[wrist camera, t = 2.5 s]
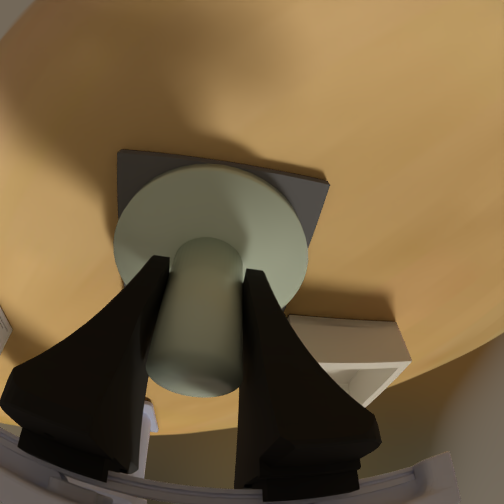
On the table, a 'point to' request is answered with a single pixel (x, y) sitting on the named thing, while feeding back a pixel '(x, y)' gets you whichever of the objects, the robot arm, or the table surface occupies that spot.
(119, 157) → the mat
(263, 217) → the lid
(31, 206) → the table surface
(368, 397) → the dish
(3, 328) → the ink box
